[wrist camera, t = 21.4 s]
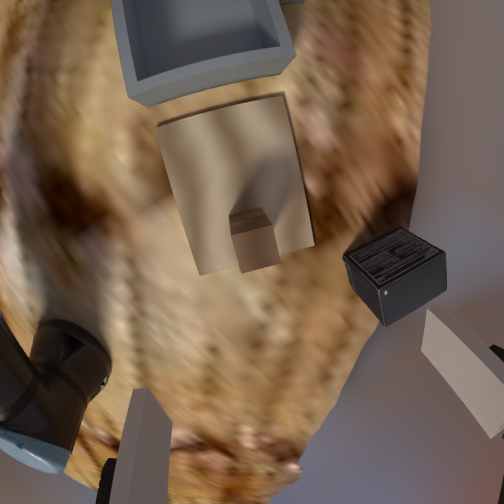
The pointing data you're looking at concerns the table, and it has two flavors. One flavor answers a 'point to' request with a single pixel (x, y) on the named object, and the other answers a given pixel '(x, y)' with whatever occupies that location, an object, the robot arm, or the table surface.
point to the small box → (396, 274)
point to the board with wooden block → (237, 185)
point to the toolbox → (198, 44)
